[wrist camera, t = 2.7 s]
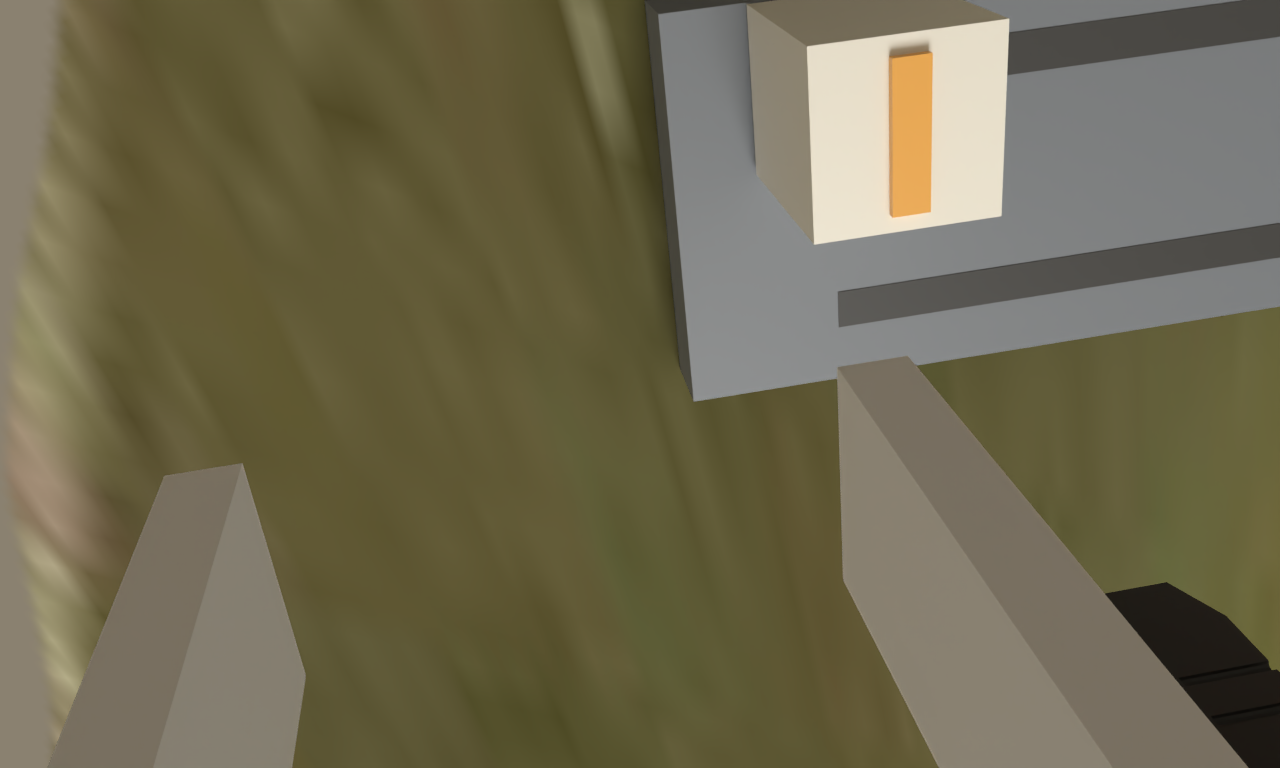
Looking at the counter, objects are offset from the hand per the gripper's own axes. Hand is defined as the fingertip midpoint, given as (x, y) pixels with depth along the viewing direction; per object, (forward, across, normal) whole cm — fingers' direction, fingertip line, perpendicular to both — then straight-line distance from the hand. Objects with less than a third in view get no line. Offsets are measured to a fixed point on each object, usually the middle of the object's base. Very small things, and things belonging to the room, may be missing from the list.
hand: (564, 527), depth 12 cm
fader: (+17, +8, 0) cm, 19 cm away
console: (+19, +20, -3) cm, 28 cm away
